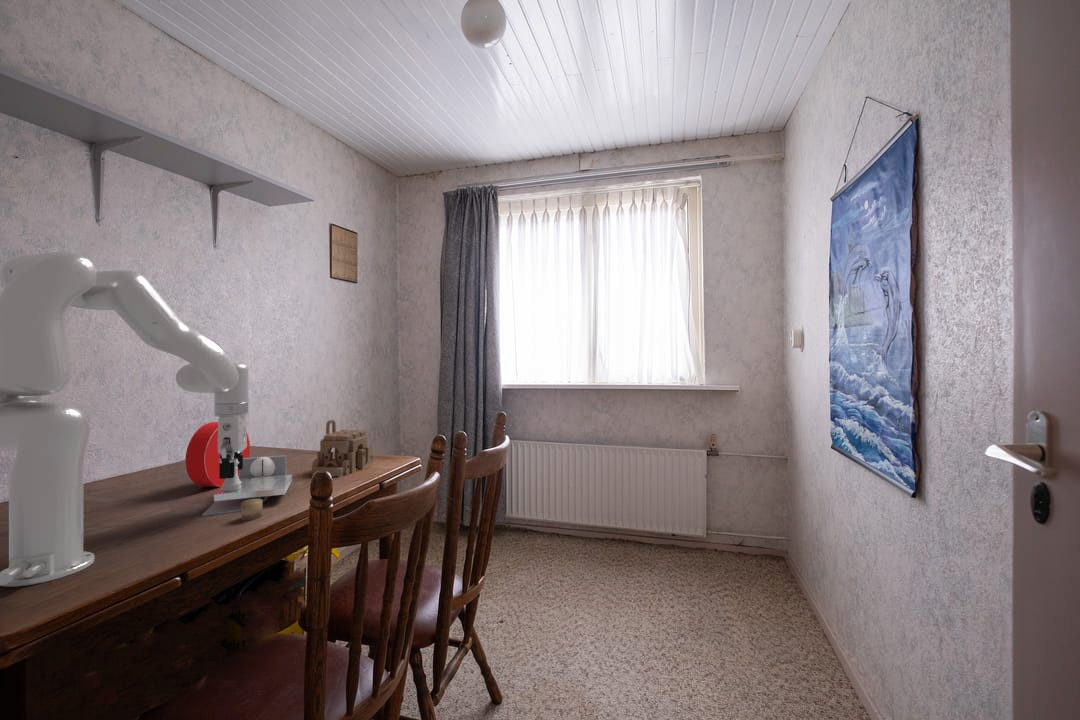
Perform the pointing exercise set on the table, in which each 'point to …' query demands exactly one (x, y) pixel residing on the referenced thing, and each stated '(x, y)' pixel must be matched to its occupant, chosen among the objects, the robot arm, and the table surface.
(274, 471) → the scale base
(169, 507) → the table surface
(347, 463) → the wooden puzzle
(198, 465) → the red thick disc
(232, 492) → the pan
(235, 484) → the rook chess piece
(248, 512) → the tan cylinder
